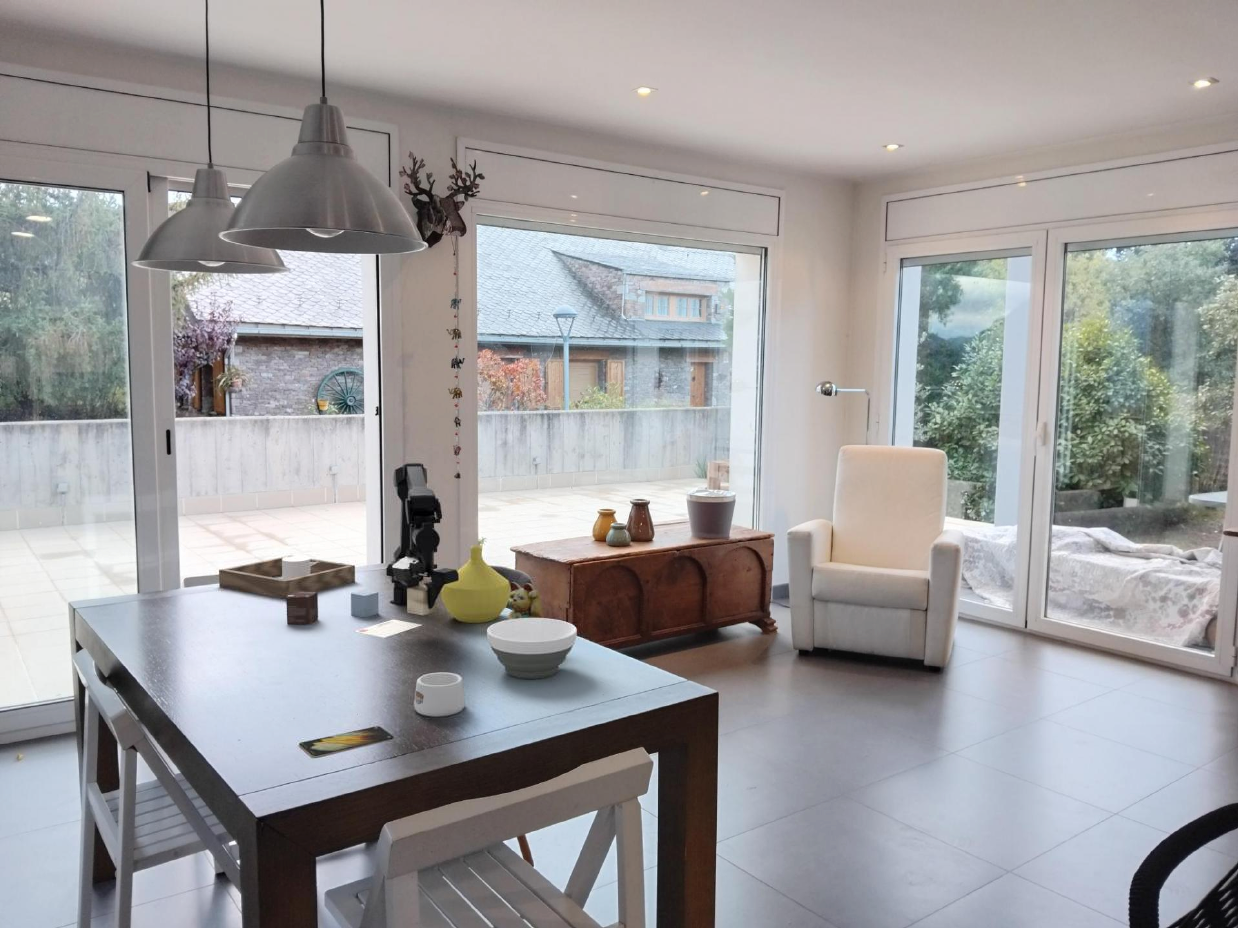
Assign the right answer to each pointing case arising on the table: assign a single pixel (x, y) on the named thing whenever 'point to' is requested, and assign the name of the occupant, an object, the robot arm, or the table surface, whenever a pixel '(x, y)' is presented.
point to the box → (302, 607)
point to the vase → (476, 591)
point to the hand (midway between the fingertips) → (422, 607)
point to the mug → (439, 694)
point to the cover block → (419, 600)
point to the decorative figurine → (524, 602)
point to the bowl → (531, 645)
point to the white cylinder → (296, 566)
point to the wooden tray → (261, 582)
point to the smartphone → (345, 741)
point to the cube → (364, 603)
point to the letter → (388, 628)
